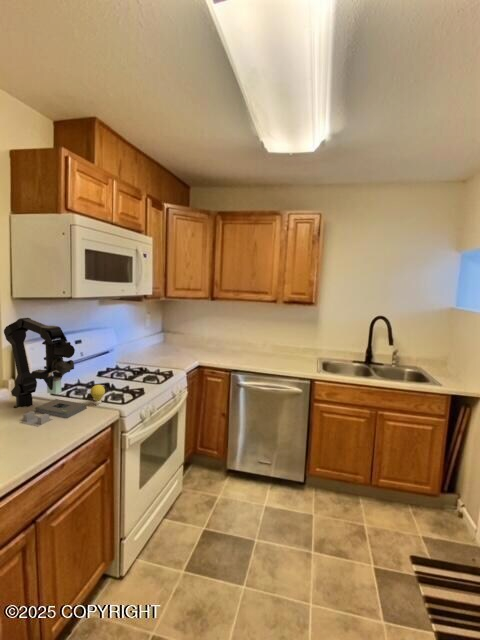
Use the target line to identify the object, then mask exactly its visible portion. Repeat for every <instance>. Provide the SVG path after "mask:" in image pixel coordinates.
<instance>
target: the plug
mask: <svg viewBox="0 0 480 640" xmlns="http://www.w3.org/2000/svg"><path fill="white" fill-rule="evenodd" d="M46 388H47V390H46V392H47V394H53V395H58V394H61V393H62V379H61V377H56V376H55V377H54V378H53V388H52V390H50V389H49V387H48V386H47V385H46Z"/></svg>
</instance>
